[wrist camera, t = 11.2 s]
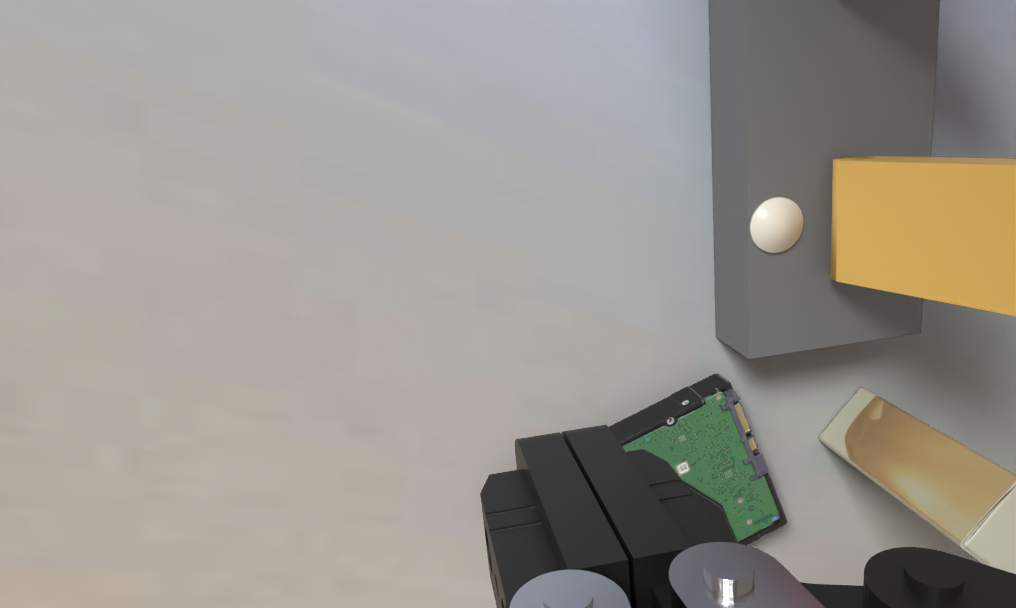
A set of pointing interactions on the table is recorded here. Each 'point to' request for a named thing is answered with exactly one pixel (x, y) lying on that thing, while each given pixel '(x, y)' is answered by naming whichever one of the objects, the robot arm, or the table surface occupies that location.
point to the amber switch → (927, 228)
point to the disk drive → (710, 455)
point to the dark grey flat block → (808, 158)
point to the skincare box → (930, 476)
